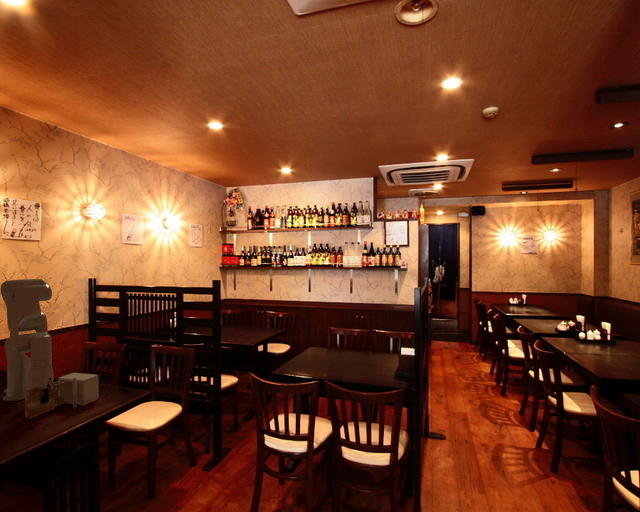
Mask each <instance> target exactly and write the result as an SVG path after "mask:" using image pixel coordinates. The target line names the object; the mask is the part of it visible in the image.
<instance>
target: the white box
mask: <svg viewBox="0 0 640 512" xmlns="http://www.w3.org/2000/svg"><path fill="white" fill-rule="evenodd" d="M99 377H100V376H99V374H91V373H81V372H71V373H69V374H65V375H63V376H60V377H58V378H57V381H60V382H65V387H64V388H62V389H59V390H57V394H58V395H57V397H64V398H65V403H64V404H68V403H69V404H70V405H72V409H77V408H78V406H87V405H88V403H89V404H90V402H91V403H93V402H96V401H98V400H99V398H100V397H99ZM97 399H98V400H97ZM77 404H78V405H77Z"/></svg>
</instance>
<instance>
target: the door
mask: <svg viewBox="0 0 640 512" xmlns="http://www.w3.org/2000/svg"><path fill="white" fill-rule="evenodd" d="M53 387H54V389H52V390H51V391H50V393H49V401H48V402H47V403H44V404H41V395H42V393H41V389H34V388H32V389H29V390H26V391H25V399H24V418H25V419H27V420H28V419H29V420H32V419H33V418H36V417H39V416H41V415H43V414H46V413H48V412H50V411H53V410H54V409H56V407H59V406H60V405H63V404H66V403H65V398H64V397H58V396H57V397H55V396H56V394H55V393H56V391H58V390H59V389H62V388H64V387H65V382H60V381H58V380H57V381H55V382H53ZM45 390H46V389H44V391H45Z"/></svg>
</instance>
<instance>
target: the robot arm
mask: <svg viewBox="0 0 640 512" xmlns="http://www.w3.org/2000/svg"><path fill="white" fill-rule="evenodd" d="M0 295H1V297H2V299H3V300H2V301H3V302H4V304H5V307H6V320H7V321H6V322H7V329H8V330H9V337H8V338H6V340H5V342H4V348H5V353H6V361H7V362H6V363H7V364H6V367H7V369H6V375H7V378H6V379H7V381H6V382H7V388H5V389H4V391H3V392H4V393H6V395H4V396H3V398H2V399H3V401H4V402H15V401H20V400H25V391H26V390H29V389H32V388H34V389H41V393H42V395H41V404H44V403H47V402H48V401H49V393H50V391H51V390H52V389H54V387H53V383H54V370H53V365H52V363H53V362H52V361H53V360H52V359H53V358H52V357H53V355H52V335H50V334H49V328H48V327H49V325H48V318H47V315H46V313H44V312H43V311H42V309H41V305H40V302H46V301H50V300H51V299H52V297H53V290H52V287H51V286H50V285H49V283H47V282H46V281H45V280H43V279H42V278H28V279H26V278H25V279H23V278H22V279H11V280H6V281H3V282H2V283H1V284H0ZM30 331H35V332H30ZM23 332H29V333H23ZM19 333H21V334H19ZM22 333H23V334H22ZM27 353H30V356H28V355H27ZM44 389H46V390H45V391H44Z"/></svg>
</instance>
